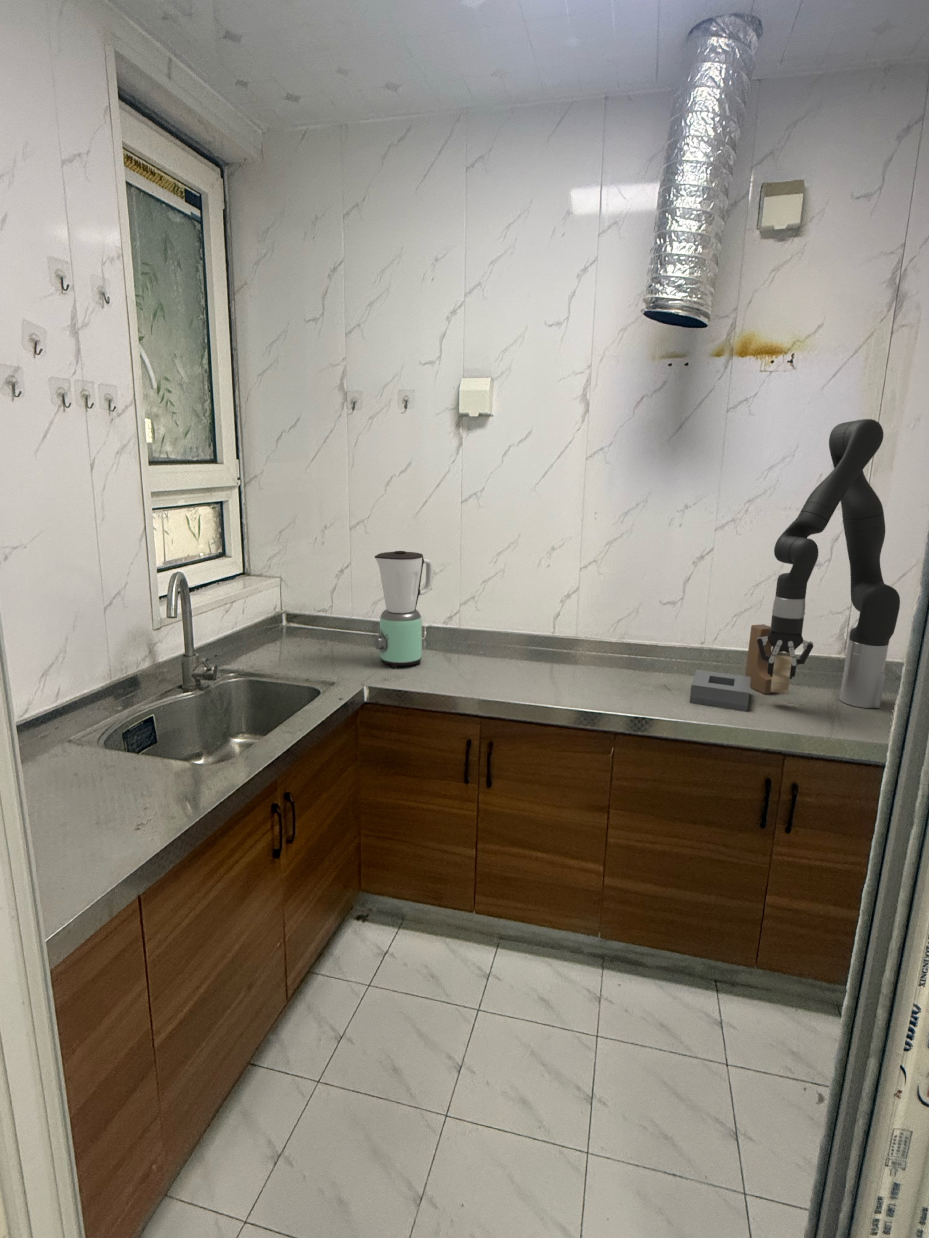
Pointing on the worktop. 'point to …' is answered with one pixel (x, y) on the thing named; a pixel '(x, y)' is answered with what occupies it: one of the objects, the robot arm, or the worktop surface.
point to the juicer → (401, 607)
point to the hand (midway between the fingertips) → (780, 676)
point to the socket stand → (720, 690)
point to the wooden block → (758, 660)
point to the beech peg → (781, 673)
